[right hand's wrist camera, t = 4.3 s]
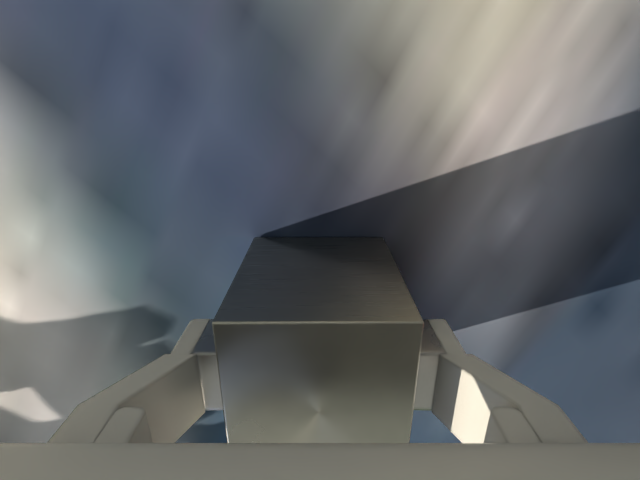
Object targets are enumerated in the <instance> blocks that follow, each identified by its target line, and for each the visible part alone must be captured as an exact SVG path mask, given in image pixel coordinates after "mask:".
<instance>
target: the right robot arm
mask: <svg viewBox="0 0 640 480" xmlns="http://www.w3.org/2000/svg"><path fill="white" fill-rule="evenodd" d="M213 320H214V319H211V320H210V319H193V320H191V321H190V323H189V324H188V326H187V328H186V329H185V331H184V333H183V334H182V336H181V338H180V339H179V341H178V342H177V344H176V346H175V347H174V349H173V351H172V352H171V354H164V355H163V356H161V357H159V358H158V359H156V360H154V361H153V362H151V363H149V364H147V365H146V366H144V367H142V368H141V369H139V370H137V371H135V372H134V373H132V374H130V375H129V376H127V377H125V378H123V379H122V380H120V381H118V382H117V383H115V384H113V385H111V386H110V387H108V388H106V389H105V390H103V391H101V392H99V393H98V394H96V395H94V396H93V397H91V398H89V399H87V400H86V401H84V402H82V403H81V404H79V405H78V406H77V407H76V408H75V409H74V410H73V412H72V413H71V414H70V415H69V417H68V418H67V419H66V420H65V422H64V423H63V424H62V425H61V426H60V428H59V429H58V430H57V431H56V433H55V434H54V435H53V436H52V437H51V439H50V440H49V441H48V442H47V443H0V480H640V443H588V442H587V441H586V439H585V438H584V437H583V436H582V434H581V433H580V432H579V431H578V429H577V428H576V427H575V426H574V424H573V423H572V422H571V420H570V419H569V418H568V417H567V415H566V414H565V413H564V412H563V410H562V409H561V408H560V407H559V406H558V405H557V404H555V403H553V402H552V401H550V400H548V399H547V398H545V397H543V396H541V395H540V394H538V393H536V392H535V391H533V390H531V389H530V388H528V387H526V386H525V385H523V384H521V383H520V382H518V381H516V380H514V379H513V378H511V377H509V376H508V375H506V374H504V373H503V372H501V371H499V370H498V369H496V368H494V367H492V366H491V365H489V364H487V363H486V362H484V361H482V360H481V359H479V358H477V357H476V356H474V355H472V354H466V353H465V351H464V349H463V348H462V346H461V344H460V343H459V341H458V340H457V338H456V336H455V335H454V333H453V331H452V330H451V328H450V326H449V325H448V323H447V321H446V320H444V319H426V320H423V321H424V328H423V336H422V344H421V353H420V361H419V369H418V377H417V385H416V393H415V401H414V409H413V410H432V413H433V414H434V415H435V416H436V417H437V418H438V419H439V420H440V421H441V422H442V423H443V424H444V425H445V426H446V427H447V428H448V429H449V430H450V431H451V432H452V433H453V434H454V435H455V436H456V437H457V438H458V439H459V440H460V441H461V442H462V443H175V442H176V441H177V440H178V439H179V438H180V437H181V436H182V435H183V434H184V433H185V432H186V431H187V430H188V429H189V428H190V427H191V426H192V425H193V424H194V423H195V422H196V421H197V420H198V419H199V418H200V417H201V416H202V415H203V414H204V413H205V410H223V404H222V396H221V389H220V381H219V373H218V365H217V358H216V350H215V342H214V334H213V326H212V322H213Z"/></svg>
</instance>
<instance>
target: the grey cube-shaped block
mask: <svg viewBox="0 0 640 480" xmlns="http://www.w3.org/2000/svg"><path fill="white" fill-rule="evenodd" d="M212 326H213V334H214V342H215V350H216V358H217V365H218V373H219V381H220V389H221V396H222V404H223V412H224V420H225V427H226V435H227V443H409V442H410V433H411V425H412V417H413V409H414V401H415V393H416V385H417V377H418V369H419V361H420V353H421V344H422V336H423V328H424V321H423V319H422V317H421V315H420V313H419V311H418V309H417V307H416V305H415V303H414V301H413V299H412V297H411V294H410V292H409V290H408V288H407V286H406V284H405V282H404V280H403V278H402V276H401V274H400V272H399V270H398V267H397V265H396V263H395V261H394V259H393V257H392V255H391V253H390V251H389V249H388V247H387V245H386V243H385V241H384V238H382V237H255V238H254V239H253V241H252V243H251V245H250V247H249V249H248V251H247V253H246V256H245V258H244V260H243V262H242V264H241V266H240V268H239V270H238V272H237V274H236V276H235V278H234V280H233V282H232V284H231V286H230V288H229V290H228V292H227V294H226V296H225V298H224V300H223V302H222V304H221V306H220V308H219V310H218V312H217V314H216V316H215V318H214V320H213V322H212Z"/></svg>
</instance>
